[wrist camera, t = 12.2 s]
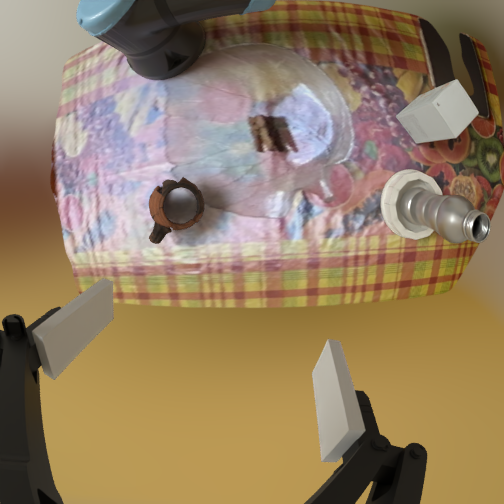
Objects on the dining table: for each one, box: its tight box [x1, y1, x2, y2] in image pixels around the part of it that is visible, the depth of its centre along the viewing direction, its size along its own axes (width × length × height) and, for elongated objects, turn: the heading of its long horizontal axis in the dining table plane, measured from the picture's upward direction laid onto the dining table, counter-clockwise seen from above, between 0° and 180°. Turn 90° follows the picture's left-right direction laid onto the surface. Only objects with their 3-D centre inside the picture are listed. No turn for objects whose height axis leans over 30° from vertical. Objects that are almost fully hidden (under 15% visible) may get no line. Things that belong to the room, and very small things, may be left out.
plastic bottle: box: [400, 187, 491, 243], centre depth 32 cm, size 6×7×20 cm
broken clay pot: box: [149, 177, 204, 244], centre depth 44 cm, size 12×10×8 cm
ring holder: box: [380, 169, 442, 240], centre depth 41 cm, size 12×12×3 cm
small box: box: [396, 79, 479, 144], centre depth 31 cm, size 8×6×13 cm
